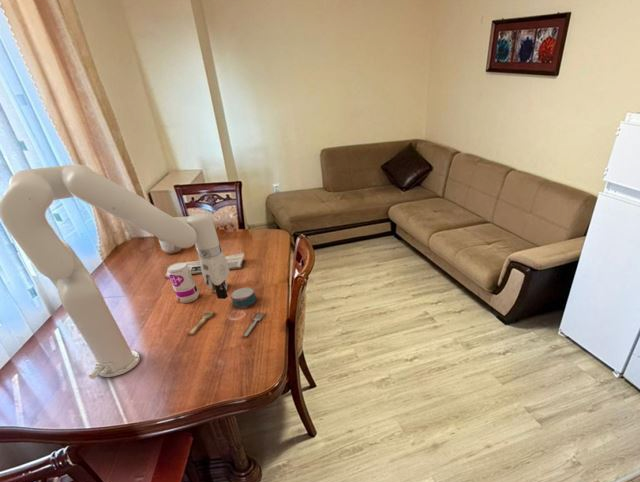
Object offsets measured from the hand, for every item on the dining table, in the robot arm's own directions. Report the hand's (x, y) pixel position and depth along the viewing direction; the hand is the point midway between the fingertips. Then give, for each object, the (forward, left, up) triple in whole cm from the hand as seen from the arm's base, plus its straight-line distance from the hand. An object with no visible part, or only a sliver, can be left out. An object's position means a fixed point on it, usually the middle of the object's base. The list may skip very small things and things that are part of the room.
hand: (222, 297), depth 142 cm
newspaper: (+43, +33, -10) cm, 55 cm away
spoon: (-3, +10, -10) cm, 14 cm away
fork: (-3, -11, -10) cm, 15 cm away
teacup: (+61, +62, -10) cm, 88 cm away
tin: (+12, -1, -10) cm, 16 cm away
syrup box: (+23, +16, -10) cm, 30 cm away
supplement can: (+14, +26, -10) cm, 31 cm away
